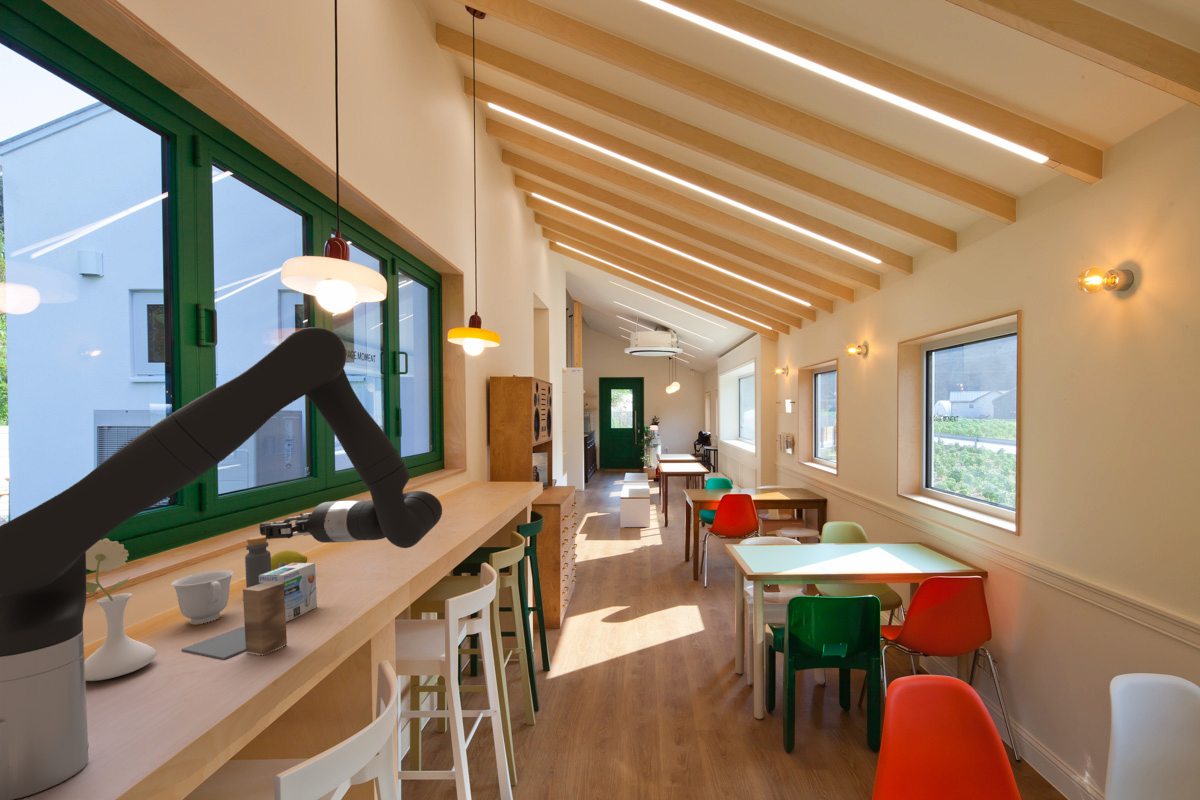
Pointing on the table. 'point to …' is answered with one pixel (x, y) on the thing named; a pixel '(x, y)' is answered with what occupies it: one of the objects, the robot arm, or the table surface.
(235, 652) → the slate mat
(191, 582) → the teacup
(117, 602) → the flower in vase
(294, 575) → the light bulb box
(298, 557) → the lemon
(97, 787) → the table surface
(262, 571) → the bottle
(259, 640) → the walnut block
